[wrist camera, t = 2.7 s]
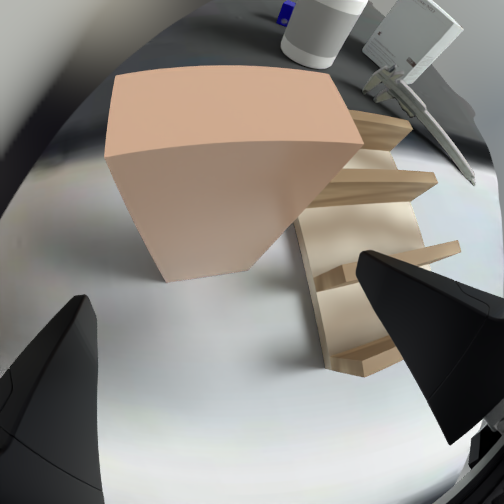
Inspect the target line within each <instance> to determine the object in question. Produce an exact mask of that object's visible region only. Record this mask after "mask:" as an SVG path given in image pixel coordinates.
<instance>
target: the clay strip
mask: <svg viewBox="0 0 504 504" xmlns="http://www.w3.org/2000/svg"><path fill="white" fill-rule="evenodd" d="M363 145H364V142H363V140H362V138H361V136H360V134H359V131H358V129H357V127H356V125H355V123H354V121H353V119H352V117H351V115H350V113H349V111H348V109H347V107H346V105H345V103H344V101H343V99H342V97H341V95H340V94H339V92H338V90H337V88H336V86H335V84H334V83H333V81H332V79H331V77H330V76H329V74H325V73H319V72H312V71H304V70H296V69H287V68H275V67H260V66H192V67H178V68H166V69H157V70H149V71H141V72H135V73H128V74H123V75H117V76H116V77H115V82H114V87H113V93H112V98H111V105H110V111H109V118H108V126H107V135H106V144H105V156H104V158H105V160H106V162H107V165H108V167H109V169H110V172H111V174H112V176H113V179H114V181H115V183H116V185H117V188H118V190H119V192H120V194H121V196H122V198H123V201H124V203H125V205H126V207H127V209H128V211H129V213H130V215H131V217H132V219H133V221H134V223H135V225H136V227H137V229H138V231H139V233H140V235H141V237H142V239H143V241H144V243H145V245H146V247H147V249H148V251H149V252H150V254H151V256H152V258H153V260H154V262H155V264H156V265H157V267H158V269H159V271H160V273H161V274H162V276H163V278H164V280H165V281H166V283H168V282H175V281H182V280H189V279H195V278H202V277H209V276H215V275H222V274H228V273H235V272H241V271H248V270H249V269H250V268H251V267H252V266H253V265H254V264H255V262H256V261H257V260H258V259H259V258H260V257H261V256H262V255H263V254H264V253H265V252H266V251H267V250H268V249H269V247H270V246H271V245H272V244H273V243H274V242H275V241H276V240H277V239H278V238H279V237H280V236H281V235H282V233H283V232H284V231H285V230H286V229H287V228H288V227H289V226H290V225H291V224H292V223H293V222H294V220H295V219H296V218H297V217H298V216H299V215H300V214H301V213H302V212H303V211H304V210H305V209H306V207H307V206H308V205H309V204H310V203H311V202H312V201H313V200H314V199H315V198H316V197H317V195H318V194H319V193H320V192H321V191H322V190H323V189H324V188H325V187H326V186H327V185H328V183H329V182H330V181H331V180H332V179H333V178H334V177H335V176H336V175H337V174H338V172H339V171H340V170H341V169H342V168H343V167H344V166H345V165H346V164H347V163H348V162H349V160H350V159H351V158H352V157H353V156H354V155H355V154H356V153H357V152H358V150H359V149H360V148H361V147H362V146H363Z"/></svg>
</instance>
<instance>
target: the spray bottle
mask: <svg viewBox="0 0 504 504" xmlns="http://www.w3.org/2000/svg"><path fill="white" fill-rule="evenodd" d="M367 2H368V0H297V2H296V5H295V7H294V10H293V12H292V15H291V17H290V20H289V23H288V25H287V28H286V30H285V33H284V36H283V38H282V41H281V49H282V51H283V53H284V54H285V55H286V56H287V57H288V58H290V59H291V60H293V61H295V62H297V63H299V64H301V65H303V66H306V67H310V68H315V69H326V68H328V67H330V66H331V65H332V63H333V61H334V60H335V58H336V56H337V54H338V52H339V51H340V49H341V47H342V45H343V44H344V42H345V40H346V38H347V37H348V35H349V33H350V31H351V30H352V28H353V26H354V24H355V23H356V21H357V19H358V18H359V16H360V14H361V12H362V11H363V9H364V7H365V6H366V4H367Z"/></svg>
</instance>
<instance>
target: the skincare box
mask: <svg viewBox="0 0 504 504" xmlns="http://www.w3.org/2000/svg"><path fill="white" fill-rule="evenodd" d="M462 31H463V28H462V27H461V26H460V25H459V24H458V23H457V22H456V21H455V20H454V19H453V18H452V17H451V16H450V15H449V14H447V13H446V12H445V11H444V10H443V9H442V8H440V7H439V6H438V5H437V4H436V3H435V2H433V1H432V0H398V1H397V2H396V4H395V5H394V6H393V7H392V9H391V10H390V12H389V13H388V14H387V16H386V17H385V18H384V20H383V21H382V22H381V24H380V25H379V26H378V28H377V29H376V30H375V32H374V33H373V34H372V36H371V37H370V39H369V40H368V41H367V43H366V44H365V46H364V47H363V49H362V52H363V53H364V54H365V55H367V56H368V57H369V58H370V59H371V60H372V61H373V62H375V63H376V64H377V65H378V66H379V67H380V68H382V67H383V66H385V65H386V66H387V67H388V68H391V67H392V66H393V65H395V64H396V70H395V72H397V71H404V75H403V76H402V77H400V78H398V79H397V80H399V79H402V80H403V81H404V82H405V83H406V84H411V83H413V82H414V81H415V80H416V79H417V78H418V77H419V76H420V75H421V74H422V73H423V72H424V71H425V70H426V69H427V68H428V66H429V65H430V64H431V63H432V62H433V61H434V60H435V59H436V58H437V57H438V56H439V55H440V54H441V53H442V52H443V51H444V50H445V49H446V48H447V47H448V46H449V45H450V43H452V42H453V41H454V39H455V38H456V37H457V36H458V35H459V34H460V33H461V32H462Z"/></svg>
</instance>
